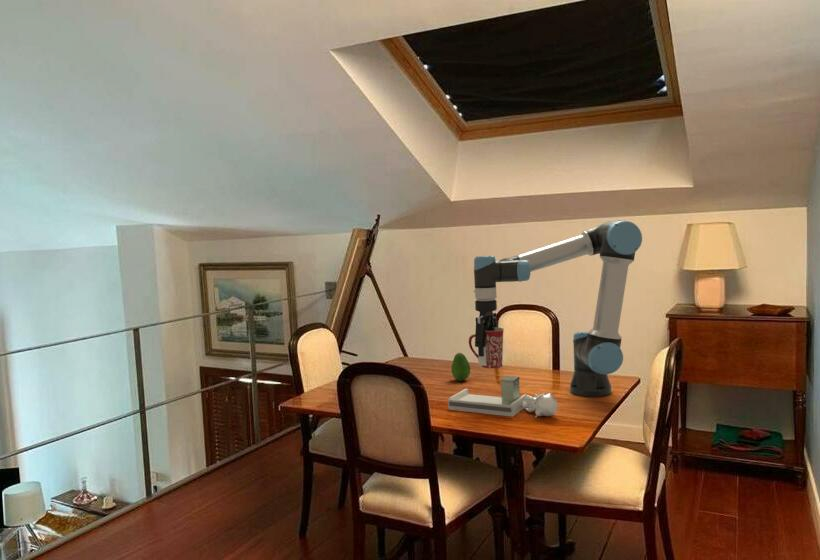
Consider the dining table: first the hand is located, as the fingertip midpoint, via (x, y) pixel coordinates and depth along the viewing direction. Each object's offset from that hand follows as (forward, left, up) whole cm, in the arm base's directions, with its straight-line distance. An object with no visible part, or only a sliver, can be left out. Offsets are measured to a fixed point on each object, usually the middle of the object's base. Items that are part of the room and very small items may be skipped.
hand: (487, 362), depth 219 cm
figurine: (-19, +2, -16) cm, 25 cm away
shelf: (0, +1, -16) cm, 16 cm away
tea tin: (-9, +1, -14) cm, 16 cm away
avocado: (+26, -32, -16) cm, 44 cm away
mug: (0, 0, -2) cm, 2 cm away
